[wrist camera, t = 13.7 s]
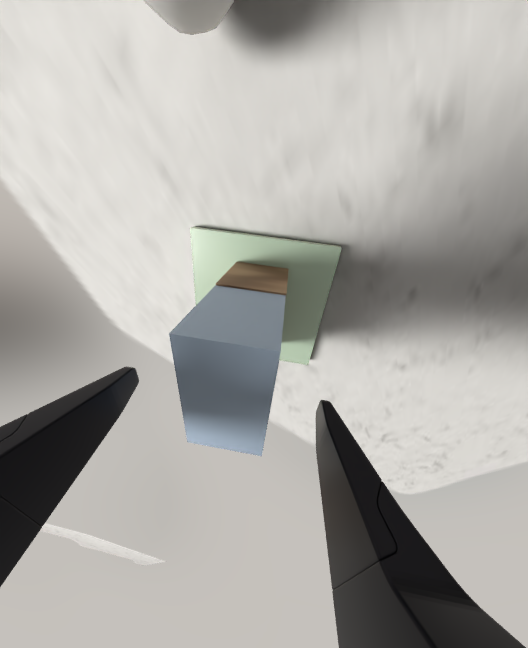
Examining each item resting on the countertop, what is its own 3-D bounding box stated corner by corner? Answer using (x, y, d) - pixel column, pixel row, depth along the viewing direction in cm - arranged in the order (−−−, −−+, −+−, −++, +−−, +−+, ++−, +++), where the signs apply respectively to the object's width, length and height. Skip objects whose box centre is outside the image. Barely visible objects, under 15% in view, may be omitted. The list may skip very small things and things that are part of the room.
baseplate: (339, 245, 15) (341, 248, 14) (307, 359, 21) (308, 364, 20) (194, 226, 16) (189, 227, 15) (202, 342, 21) (199, 347, 21)
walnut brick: (288, 268, 16) (286, 293, 11) (276, 342, 19) (271, 382, 15) (236, 261, 16) (215, 283, 11) (234, 335, 19) (217, 373, 15)
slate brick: (285, 295, 11) (280, 351, 7) (270, 383, 15) (261, 456, 11) (215, 285, 12) (169, 333, 7) (217, 374, 15) (187, 442, 11)
